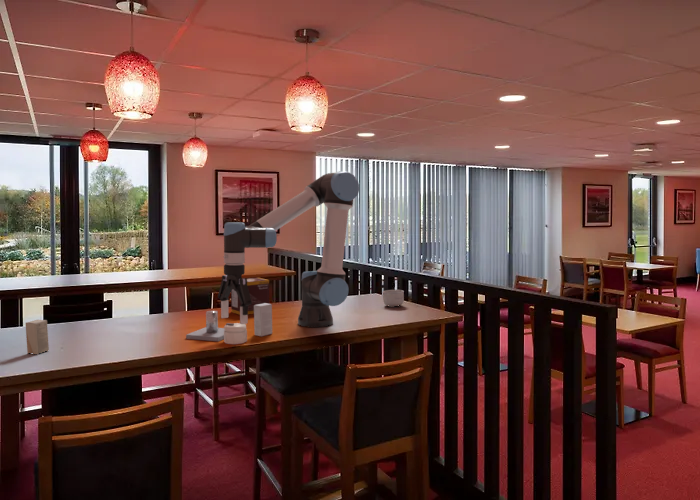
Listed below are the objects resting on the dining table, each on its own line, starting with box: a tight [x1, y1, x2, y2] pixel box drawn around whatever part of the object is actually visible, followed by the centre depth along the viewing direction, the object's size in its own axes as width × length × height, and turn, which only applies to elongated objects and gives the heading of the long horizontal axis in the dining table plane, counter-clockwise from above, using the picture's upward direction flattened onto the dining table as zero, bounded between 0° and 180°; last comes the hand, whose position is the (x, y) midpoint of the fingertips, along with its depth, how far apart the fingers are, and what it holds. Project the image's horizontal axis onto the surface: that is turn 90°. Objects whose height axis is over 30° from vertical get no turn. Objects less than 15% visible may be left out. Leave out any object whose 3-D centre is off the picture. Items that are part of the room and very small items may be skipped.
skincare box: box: [253, 303, 273, 337], centre depth 205 cm, size 6×4×12 cm
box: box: [25, 319, 50, 354], centre depth 178 cm, size 5×4×11 cm
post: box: [205, 310, 219, 333], centre depth 203 cm, size 4×4×8 cm
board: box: [185, 326, 224, 342], centre depth 203 cm, size 14×14×2 cm
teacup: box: [382, 289, 405, 306], centre depth 266 cm, size 14×11×8 cm
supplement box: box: [230, 277, 270, 316], centre depth 250 cm, size 10×15×16 cm
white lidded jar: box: [223, 322, 248, 345], centre depth 194 cm, size 8×8×7 cm
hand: (234, 320), depth 194 cm, fingers open, 13 cm apart
